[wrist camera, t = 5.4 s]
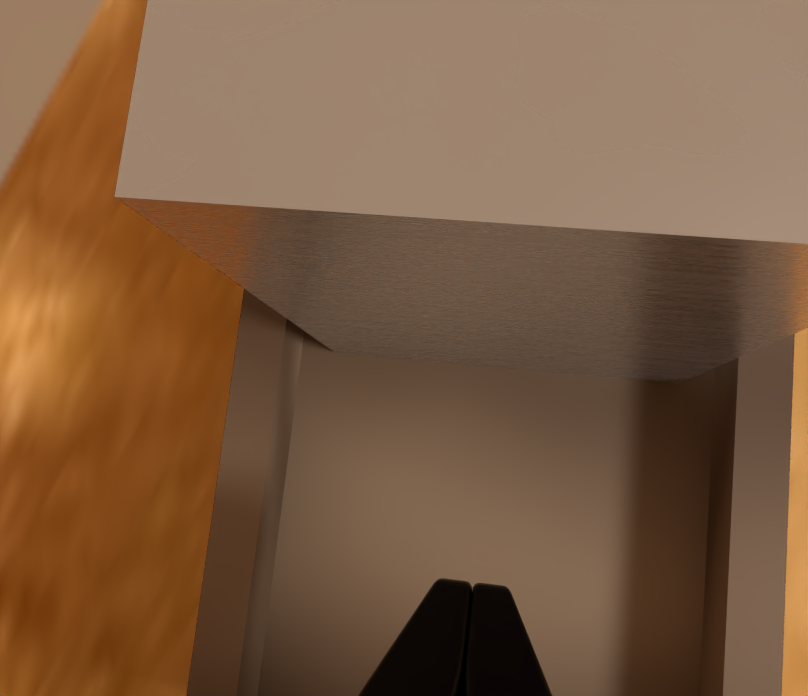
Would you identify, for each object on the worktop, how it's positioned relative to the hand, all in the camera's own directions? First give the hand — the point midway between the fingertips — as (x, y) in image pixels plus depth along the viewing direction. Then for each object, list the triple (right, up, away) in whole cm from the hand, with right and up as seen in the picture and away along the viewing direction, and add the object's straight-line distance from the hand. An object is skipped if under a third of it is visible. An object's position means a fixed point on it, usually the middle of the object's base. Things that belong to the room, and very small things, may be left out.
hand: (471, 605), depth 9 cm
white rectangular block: (+1, +6, +5) cm, 7 cm away
